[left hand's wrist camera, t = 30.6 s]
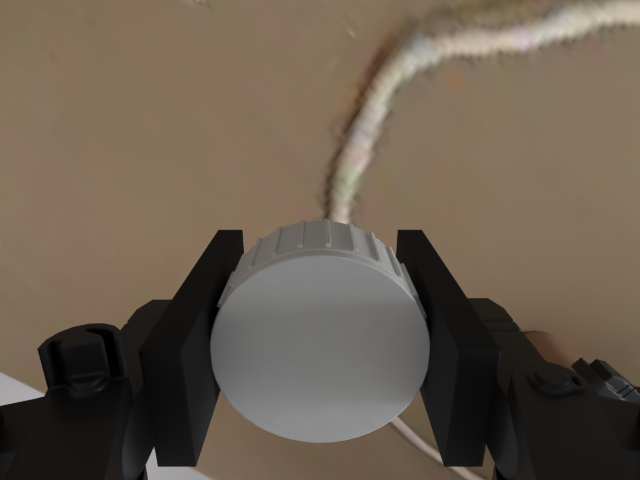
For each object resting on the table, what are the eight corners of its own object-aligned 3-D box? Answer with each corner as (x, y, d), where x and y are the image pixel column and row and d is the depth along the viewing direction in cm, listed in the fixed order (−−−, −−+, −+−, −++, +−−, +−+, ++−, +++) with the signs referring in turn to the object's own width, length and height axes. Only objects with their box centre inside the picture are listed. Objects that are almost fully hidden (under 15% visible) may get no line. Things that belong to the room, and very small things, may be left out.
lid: (333, 409, 13) (336, 477, 11) (191, 318, 12) (162, 372, 10) (451, 292, 12) (482, 342, 10) (303, 177, 11) (298, 203, 9)
